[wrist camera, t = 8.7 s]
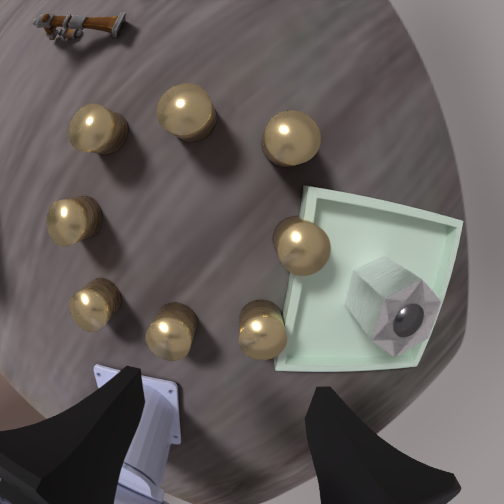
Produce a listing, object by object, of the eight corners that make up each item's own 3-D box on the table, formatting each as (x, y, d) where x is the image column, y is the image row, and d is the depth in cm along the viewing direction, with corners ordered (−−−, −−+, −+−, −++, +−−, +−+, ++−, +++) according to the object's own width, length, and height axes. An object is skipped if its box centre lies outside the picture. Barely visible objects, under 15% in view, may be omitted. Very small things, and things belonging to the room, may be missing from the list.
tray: (409, 357, 21) (416, 366, 20) (273, 358, 20) (275, 370, 19) (451, 218, 18) (463, 221, 16) (303, 185, 17) (308, 186, 16)
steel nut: (390, 321, 19) (421, 355, 15) (340, 319, 19) (364, 359, 14) (408, 258, 18) (448, 281, 13) (356, 251, 18) (391, 276, 13)
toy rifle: (47, 29, 12) (35, 8, 8) (124, 33, 16) (125, 10, 12) (39, 45, 12) (25, 26, 8) (117, 50, 16) (116, 29, 12)
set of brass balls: (294, 349, 20) (301, 373, 17) (77, 317, 19) (59, 333, 16) (334, 116, 16) (350, 106, 13) (81, 103, 15) (59, 94, 12)
